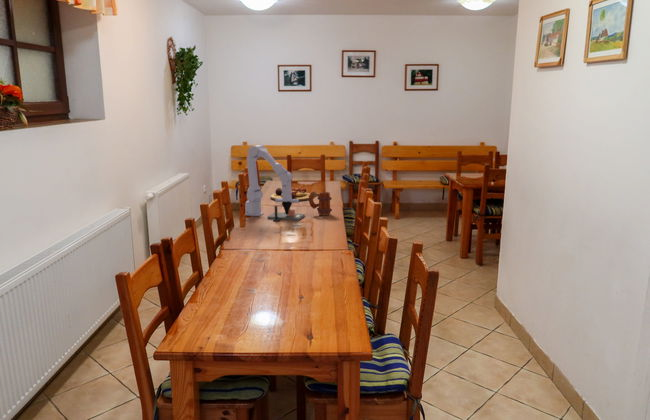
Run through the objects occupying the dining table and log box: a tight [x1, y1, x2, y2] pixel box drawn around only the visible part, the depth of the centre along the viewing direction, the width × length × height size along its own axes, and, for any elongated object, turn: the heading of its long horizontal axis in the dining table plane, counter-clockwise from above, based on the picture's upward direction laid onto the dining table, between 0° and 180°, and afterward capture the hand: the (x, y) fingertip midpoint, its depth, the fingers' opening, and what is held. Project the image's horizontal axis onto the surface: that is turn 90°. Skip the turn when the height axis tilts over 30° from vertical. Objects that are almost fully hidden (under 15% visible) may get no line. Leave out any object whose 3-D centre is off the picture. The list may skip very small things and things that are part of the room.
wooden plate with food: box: [270, 186, 311, 202], centre depth 377 cm, size 32×32×8 cm
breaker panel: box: [266, 212, 306, 222], centre depth 314 cm, size 20×12×2 cm, turn 73°
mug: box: [308, 190, 333, 216], centre depth 319 cm, size 15×8×15 cm, turn 84°
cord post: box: [272, 205, 280, 223], centre depth 305 cm, size 4×4×9 cm
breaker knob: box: [288, 208, 296, 216], centre depth 312 cm, size 3×3×4 cm
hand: (287, 213), depth 313 cm, fingers closed
